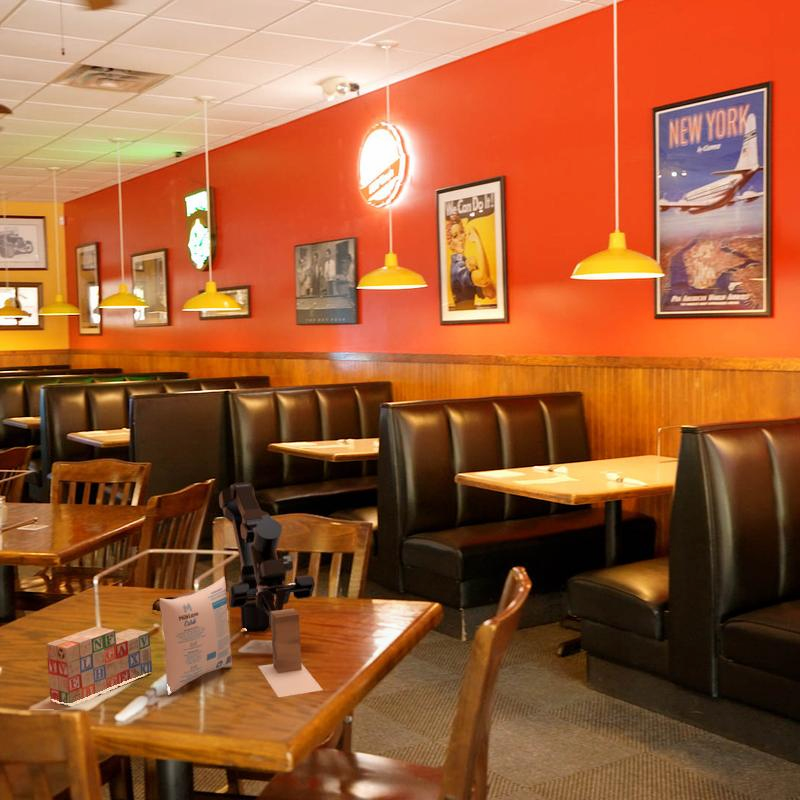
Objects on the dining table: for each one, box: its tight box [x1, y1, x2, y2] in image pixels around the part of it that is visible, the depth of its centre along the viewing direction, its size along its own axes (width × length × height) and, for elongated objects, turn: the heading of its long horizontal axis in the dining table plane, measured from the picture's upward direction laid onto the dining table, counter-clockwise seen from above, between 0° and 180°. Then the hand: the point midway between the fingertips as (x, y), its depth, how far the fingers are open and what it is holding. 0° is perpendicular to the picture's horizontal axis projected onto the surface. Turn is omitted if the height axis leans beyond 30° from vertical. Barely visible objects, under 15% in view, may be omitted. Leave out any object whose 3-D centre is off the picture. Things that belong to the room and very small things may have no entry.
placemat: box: [257, 662, 323, 698], centre depth 207 cm, size 20×9×1 cm, turn 20°
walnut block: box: [270, 608, 302, 674], centre depth 213 cm, size 5×5×12 cm
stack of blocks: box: [46, 626, 153, 703], centre depth 207 cm, size 21×6×12 cm, turn 146°
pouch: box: [158, 576, 233, 693], centre depth 208 cm, size 8×19×20 cm, turn 144°
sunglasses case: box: [152, 586, 208, 611], centre depth 265 cm, size 18×7×7 cm
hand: (279, 624), depth 218 cm, fingers closed
